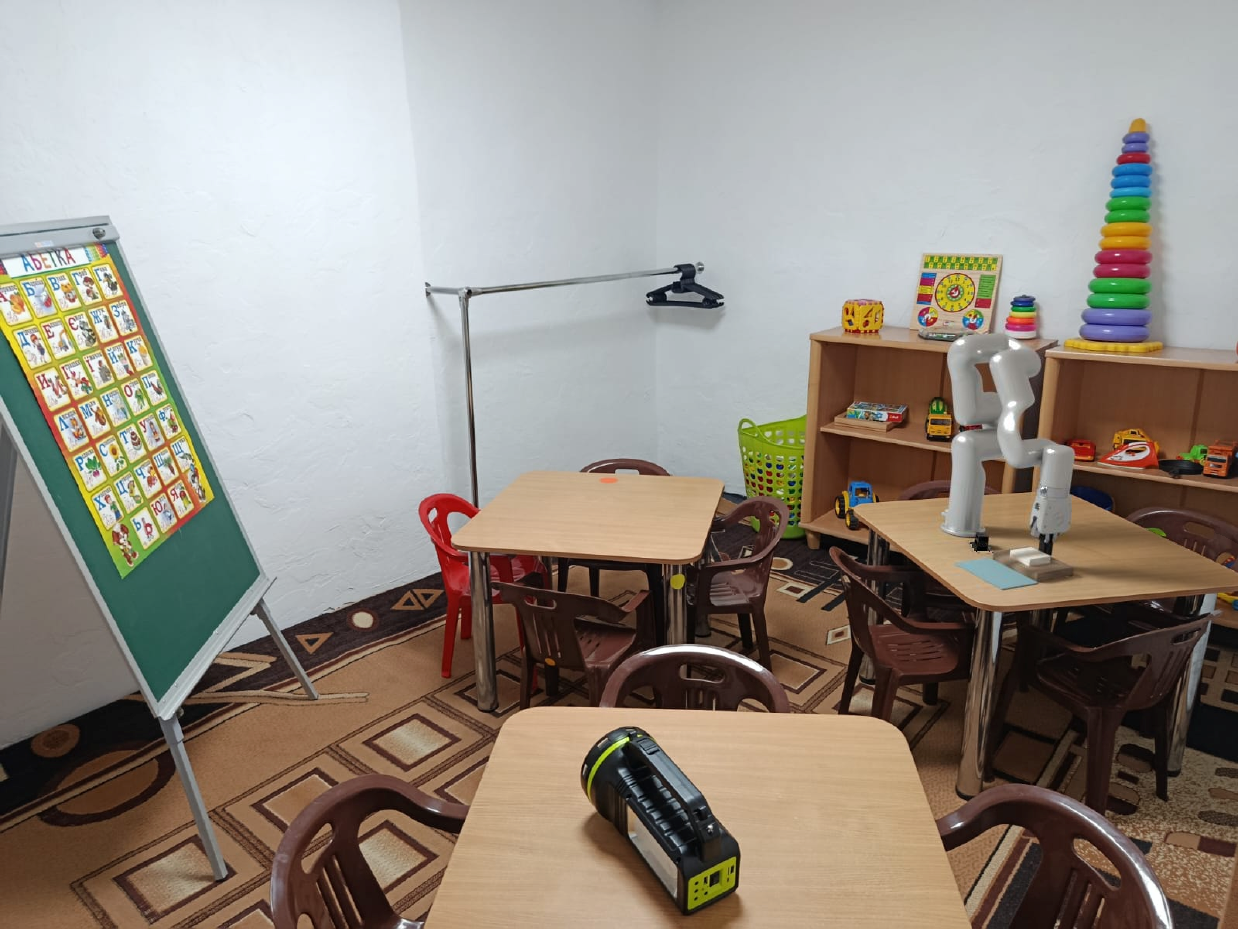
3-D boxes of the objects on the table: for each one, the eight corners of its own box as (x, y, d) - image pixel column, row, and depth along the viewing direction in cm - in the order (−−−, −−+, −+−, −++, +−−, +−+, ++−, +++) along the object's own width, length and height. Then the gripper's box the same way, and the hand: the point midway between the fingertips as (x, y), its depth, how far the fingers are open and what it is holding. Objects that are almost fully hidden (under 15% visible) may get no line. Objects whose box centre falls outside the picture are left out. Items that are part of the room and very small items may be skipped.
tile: (1009, 557, 228) (1010, 550, 228) (1029, 553, 231) (1030, 547, 230) (1029, 566, 222) (1030, 559, 222) (1049, 562, 224) (1050, 556, 224)
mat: (954, 564, 231) (955, 563, 230) (989, 558, 234) (989, 557, 234) (1001, 589, 214) (1002, 588, 214) (1038, 583, 217) (1038, 582, 217)
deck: (992, 559, 233) (993, 551, 232) (1027, 554, 237) (1028, 546, 236) (1036, 582, 218) (1037, 573, 218) (1072, 575, 222) (1073, 567, 221)
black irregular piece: (963, 540, 249) (965, 526, 248) (989, 542, 248) (991, 527, 246) (972, 556, 237) (974, 541, 236) (999, 557, 236) (1001, 542, 235)
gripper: (1042, 498, 217) (1033, 563, 222) (1086, 492, 221) (1077, 555, 226) (1020, 489, 224) (1012, 553, 229) (1064, 484, 228) (1055, 546, 233)
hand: (1044, 554), depth 228 cm, fingers closed
